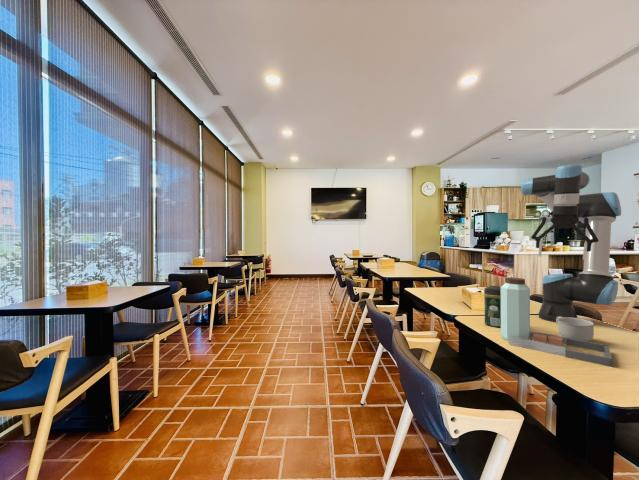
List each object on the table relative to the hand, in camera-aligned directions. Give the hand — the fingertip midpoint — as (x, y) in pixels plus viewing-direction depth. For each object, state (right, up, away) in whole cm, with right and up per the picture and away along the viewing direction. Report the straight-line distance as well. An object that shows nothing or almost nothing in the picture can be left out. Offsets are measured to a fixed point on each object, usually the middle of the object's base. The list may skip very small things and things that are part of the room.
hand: (561, 257), depth 112 cm
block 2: (-9, -34, -8) cm, 36 cm away
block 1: (-13, -34, -6) cm, 37 cm away
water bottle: (-19, -34, 0) cm, 39 cm away
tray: (-4, -34, -14) cm, 37 cm away
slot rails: (-13, -34, -5) cm, 36 cm away
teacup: (+6, -34, +1) cm, 34 cm away
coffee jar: (-15, -34, +20) cm, 42 cm away
